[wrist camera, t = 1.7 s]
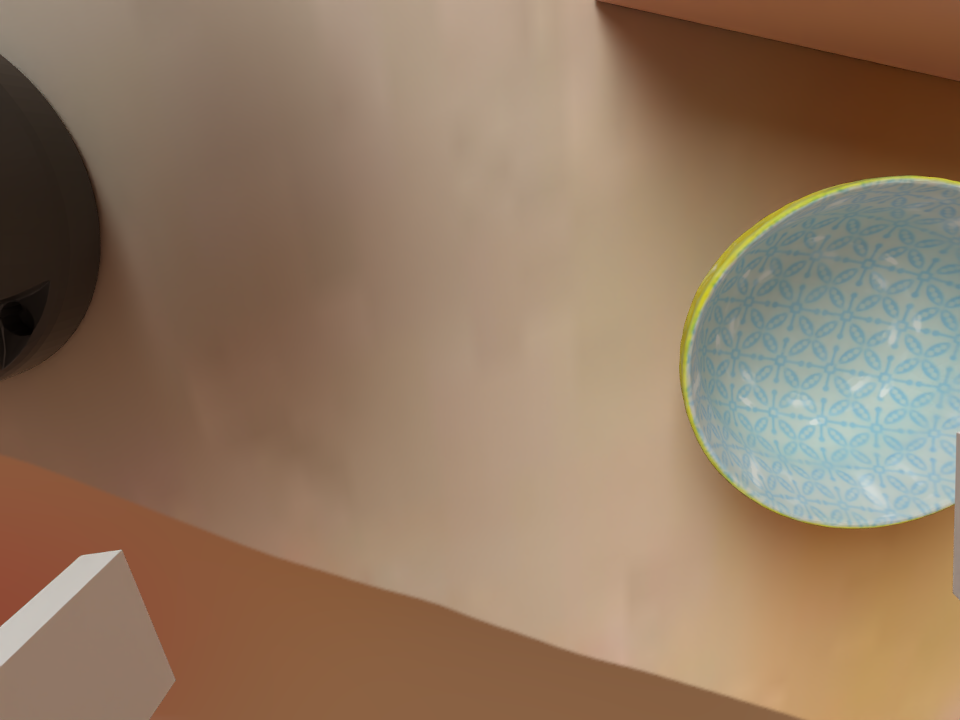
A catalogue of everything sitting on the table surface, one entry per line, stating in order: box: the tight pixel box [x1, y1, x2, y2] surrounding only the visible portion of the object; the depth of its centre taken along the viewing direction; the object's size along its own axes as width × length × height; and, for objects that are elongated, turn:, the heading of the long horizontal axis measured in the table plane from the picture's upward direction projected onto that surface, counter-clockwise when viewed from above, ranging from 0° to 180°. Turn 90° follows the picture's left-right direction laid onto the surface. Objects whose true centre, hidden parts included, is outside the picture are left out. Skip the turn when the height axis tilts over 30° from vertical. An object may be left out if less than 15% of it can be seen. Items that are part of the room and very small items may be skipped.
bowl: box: [679, 176, 960, 529], centre depth 22 cm, size 11×12×6 cm
